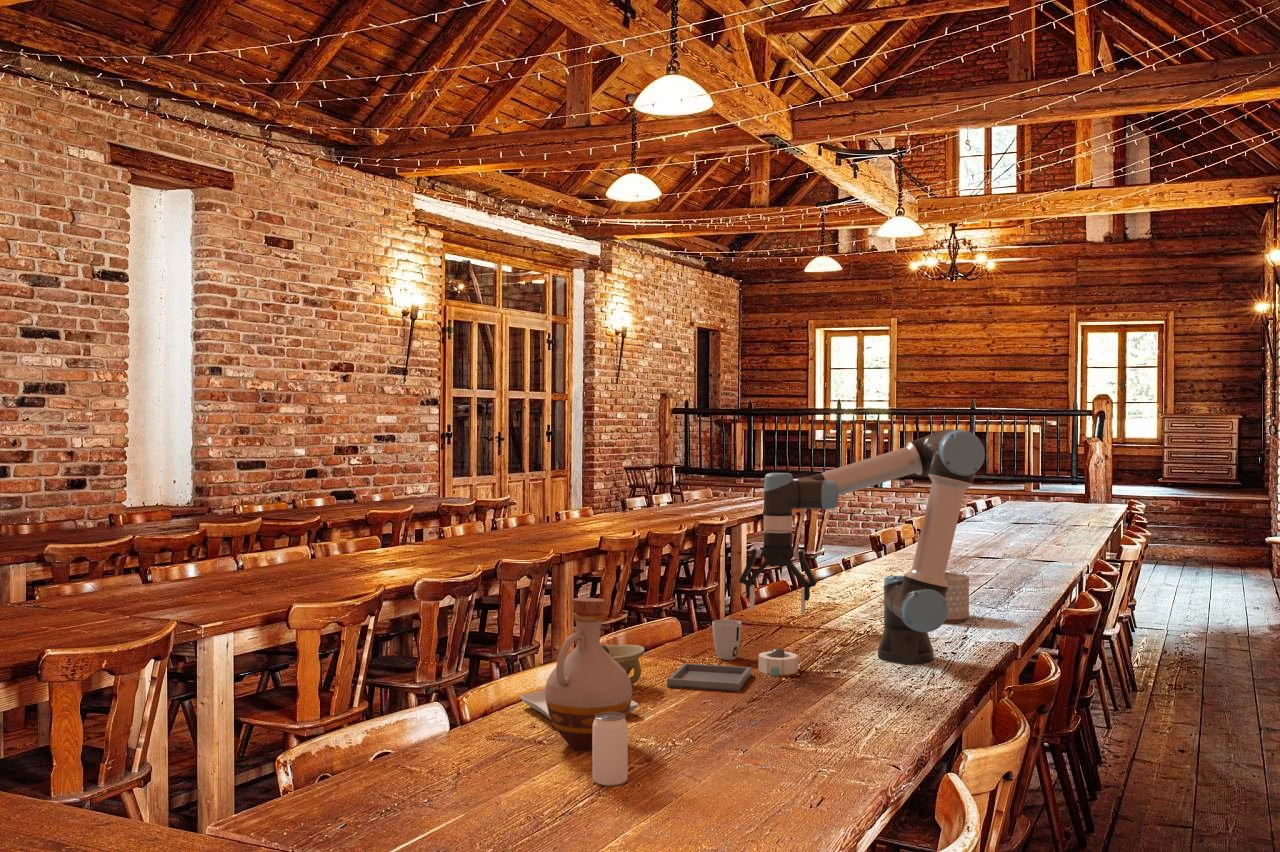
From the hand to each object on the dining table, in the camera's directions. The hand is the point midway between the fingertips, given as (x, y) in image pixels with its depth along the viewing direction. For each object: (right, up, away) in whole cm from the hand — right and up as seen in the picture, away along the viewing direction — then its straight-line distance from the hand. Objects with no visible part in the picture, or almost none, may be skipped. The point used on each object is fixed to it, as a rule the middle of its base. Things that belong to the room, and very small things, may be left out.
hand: (777, 611), depth 285 cm
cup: (-12, -16, +15) cm, 25 cm away
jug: (-47, -16, -66) cm, 82 cm away
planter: (+64, -15, +74) cm, 98 cm away
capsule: (0, -16, 0) cm, 16 cm away
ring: (0, -16, 0) cm, 16 cm away
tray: (-19, -16, -11) cm, 27 cm away
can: (-42, -16, -87) cm, 98 cm away
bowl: (-44, -16, -17) cm, 50 cm away
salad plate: (-50, -17, -40) cm, 66 cm away
